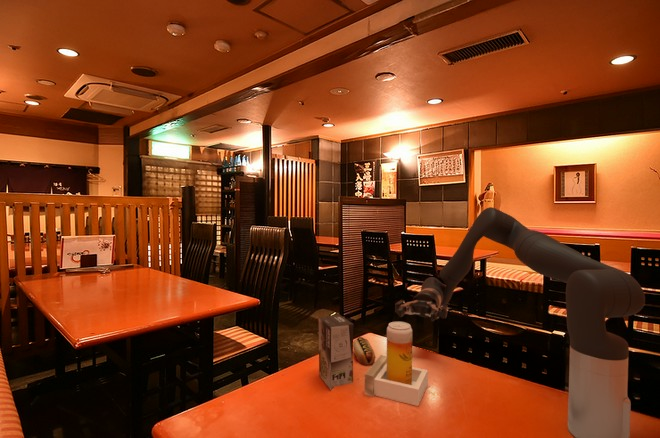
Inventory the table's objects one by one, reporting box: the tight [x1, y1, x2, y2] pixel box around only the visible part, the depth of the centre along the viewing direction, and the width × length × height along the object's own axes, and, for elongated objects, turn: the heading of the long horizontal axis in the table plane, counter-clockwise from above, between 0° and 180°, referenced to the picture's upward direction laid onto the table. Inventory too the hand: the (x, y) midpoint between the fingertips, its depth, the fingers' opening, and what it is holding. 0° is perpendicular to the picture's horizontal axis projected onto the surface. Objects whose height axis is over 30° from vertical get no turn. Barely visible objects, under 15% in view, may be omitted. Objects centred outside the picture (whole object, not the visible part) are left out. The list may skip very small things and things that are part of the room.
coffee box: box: [318, 314, 354, 391], centre depth 93 cm, size 9×6×16 cm
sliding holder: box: [374, 363, 429, 407], centre depth 86 cm, size 10×10×4 cm
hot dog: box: [353, 336, 376, 366], centre depth 106 cm, size 5×13×5 cm, turn 6°
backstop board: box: [364, 355, 387, 398], centre depth 85 cm, size 20×12×6 cm, turn 64°
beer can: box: [386, 321, 413, 385], centre depth 87 cm, size 6×6×15 cm
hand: (415, 315), depth 96 cm, fingers open, 8 cm apart
